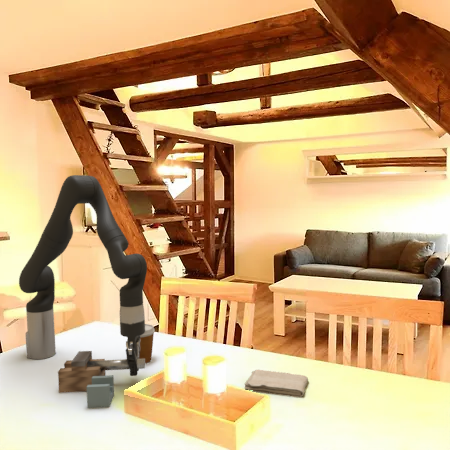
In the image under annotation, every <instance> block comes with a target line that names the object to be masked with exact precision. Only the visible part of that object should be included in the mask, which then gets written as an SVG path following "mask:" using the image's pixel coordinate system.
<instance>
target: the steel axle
mask: <svg viewBox="0 0 450 450" xmlns="http://www.w3.org/2000/svg"><path fill="white" fill-rule="evenodd" d="M131 360H134V359H131ZM137 361H138V363H137V369H139V370H140V369H141V370H142V369H144V370H145V368H146V363H145V359H137ZM98 366H101V371H103V370H105V371H119V370H120V371H121V370H122V371H123V370H130V364H129V365H128V363H127V358H125V359H105V360H101V361H88V362H87V367H98Z"/></svg>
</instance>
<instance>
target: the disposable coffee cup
mask: <svg viewBox="0 0 450 450" xmlns="http://www.w3.org/2000/svg"><path fill="white" fill-rule="evenodd" d="M155 331H156V330H155V328H154V325H153V324H149V323H145V333H144V334H142V335H140V340H141V342H140V355H139V356H140V357H139V359H145V364H148V363H150V362H151V361H152V358H153V357H152V355H153V344H154V335H155V334H154V333H155Z"/></svg>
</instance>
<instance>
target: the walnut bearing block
mask: <svg viewBox="0 0 450 450" xmlns="http://www.w3.org/2000/svg"><path fill="white" fill-rule="evenodd" d="M101 360H106V359H105V358H95V359H93V352H92V350H83V351H81V350H80V351H78V352H77V353H76V354H75V356H74V358H73V359H72V360H66V361H65V362H64V364H63V365H64V366H63V368H62V367H60V369H59V370H58V371H57V374H58V375H57V377H58V393H61V394H62V393H77V392H78V393H79V392H80V393H81V392H87V385H92V377H93V376H106V370H103V371H101V366H98V367H87V362H88V361H101Z"/></svg>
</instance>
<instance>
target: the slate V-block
mask: <svg viewBox="0 0 450 450" xmlns="http://www.w3.org/2000/svg"><path fill="white" fill-rule="evenodd" d="M114 378H115V377H114V375H113V374H112V375H105V376H93V377H92V385H87V391H86V401H87V402H86V405H87V407H86V408H87V409H97V408H98V409H99V408H110V406H111V404H112V401H113V399H114V398H115V397H114V396H115V385H114V384H115V382H114V381H115V379H114Z"/></svg>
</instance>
